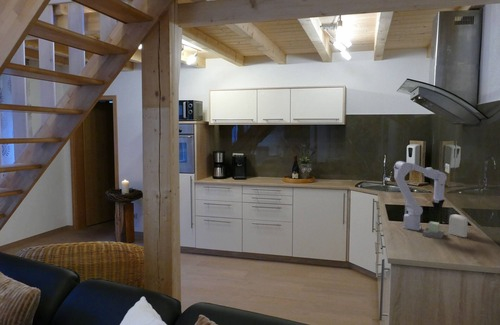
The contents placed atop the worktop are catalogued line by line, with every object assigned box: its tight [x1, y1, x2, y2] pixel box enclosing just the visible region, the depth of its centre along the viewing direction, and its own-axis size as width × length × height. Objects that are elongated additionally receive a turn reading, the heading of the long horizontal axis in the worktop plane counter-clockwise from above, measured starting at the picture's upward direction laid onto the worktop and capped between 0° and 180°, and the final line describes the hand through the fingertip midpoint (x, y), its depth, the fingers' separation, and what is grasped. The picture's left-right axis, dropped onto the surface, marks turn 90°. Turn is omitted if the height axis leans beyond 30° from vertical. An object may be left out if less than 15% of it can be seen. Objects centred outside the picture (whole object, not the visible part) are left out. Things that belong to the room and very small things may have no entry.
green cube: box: [427, 221, 440, 233], centre depth 227 cm, size 5×5×5 cm
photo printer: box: [448, 213, 469, 238], centre depth 226 cm, size 10×4×12 cm, turn 29°
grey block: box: [422, 227, 445, 239], centre depth 227 cm, size 10×10×3 cm
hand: (437, 211), depth 241 cm, fingers open, 7 cm apart
